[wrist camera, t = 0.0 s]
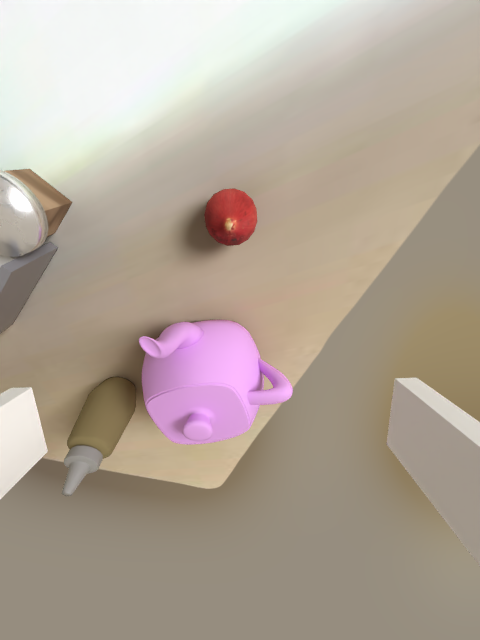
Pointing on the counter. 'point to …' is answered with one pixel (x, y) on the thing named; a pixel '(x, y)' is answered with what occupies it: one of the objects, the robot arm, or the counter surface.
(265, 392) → the teapot
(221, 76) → the counter surface
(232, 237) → the onion
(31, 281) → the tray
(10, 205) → the disc
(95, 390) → the squeeze bottle
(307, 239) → the counter surface
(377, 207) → the counter surface
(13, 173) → the brown wooden block
